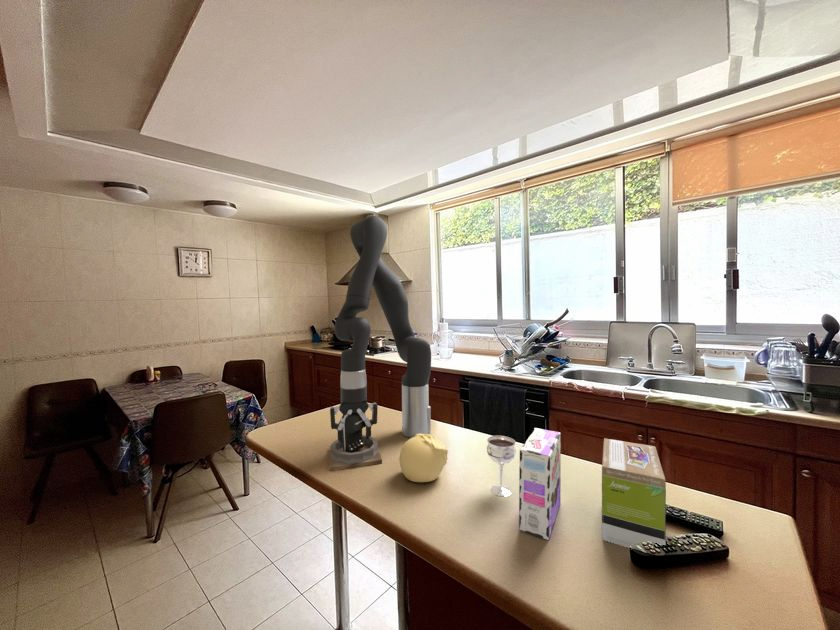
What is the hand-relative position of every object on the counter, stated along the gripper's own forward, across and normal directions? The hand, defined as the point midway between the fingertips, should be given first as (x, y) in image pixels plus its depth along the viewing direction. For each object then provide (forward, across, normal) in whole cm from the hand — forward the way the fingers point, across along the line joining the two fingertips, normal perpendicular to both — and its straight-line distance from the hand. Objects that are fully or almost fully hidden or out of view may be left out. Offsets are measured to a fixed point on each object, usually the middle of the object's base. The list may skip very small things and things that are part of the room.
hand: (354, 439), depth 97 cm
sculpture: (+5, -16, +17) cm, 24 cm away
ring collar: (+5, 0, 0) cm, 5 cm away
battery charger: (+3, 0, 0) cm, 3 cm away
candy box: (+5, -35, +40) cm, 53 cm away
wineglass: (+5, -32, +29) cm, 43 cm away
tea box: (+5, -50, +48) cm, 69 cm away
